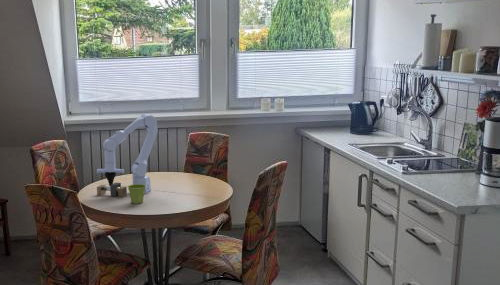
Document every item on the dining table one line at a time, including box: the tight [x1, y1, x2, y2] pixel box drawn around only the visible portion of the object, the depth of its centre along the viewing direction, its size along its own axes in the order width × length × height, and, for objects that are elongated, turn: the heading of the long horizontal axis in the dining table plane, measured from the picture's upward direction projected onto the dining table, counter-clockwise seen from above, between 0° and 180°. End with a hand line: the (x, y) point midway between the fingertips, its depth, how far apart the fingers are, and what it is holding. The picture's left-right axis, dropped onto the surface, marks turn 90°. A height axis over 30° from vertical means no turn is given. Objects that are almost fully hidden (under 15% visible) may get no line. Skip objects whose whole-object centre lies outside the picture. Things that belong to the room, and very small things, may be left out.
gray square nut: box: [109, 182, 122, 197], centre depth 288 cm, size 3×6×6 cm, turn 164°
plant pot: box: [127, 184, 146, 205], centre depth 275 cm, size 9×9×9 cm
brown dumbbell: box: [96, 184, 128, 198], centre depth 289 cm, size 15×5×5 cm, turn 74°
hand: (111, 185), depth 289 cm, fingers closed
